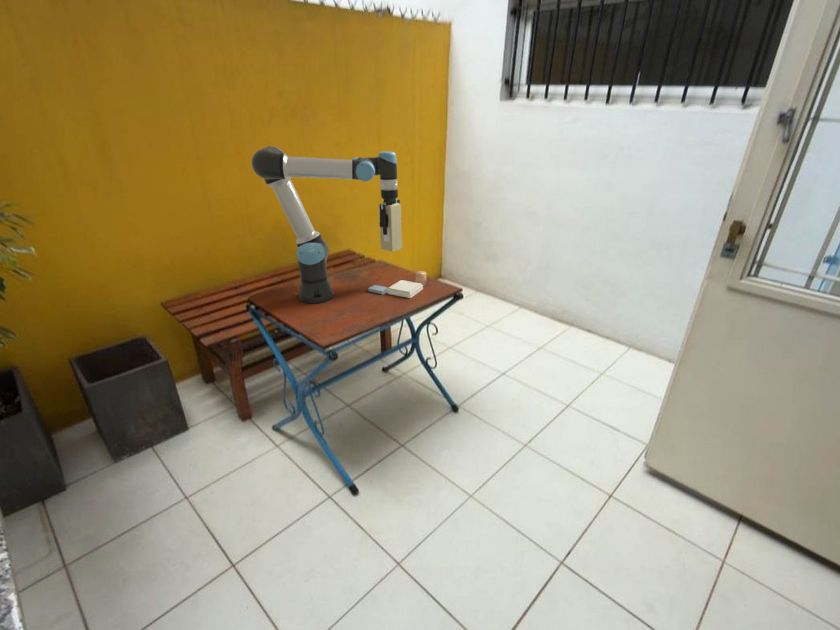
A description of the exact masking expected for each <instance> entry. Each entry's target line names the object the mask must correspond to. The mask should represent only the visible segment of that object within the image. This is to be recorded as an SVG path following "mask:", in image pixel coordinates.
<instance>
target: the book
mask: <svg viewBox="0 0 840 630" xmlns="http://www.w3.org/2000/svg"><path fill="white" fill-rule="evenodd" d="M367 289H368V292H370V293H375V294H379V295H384V294H386V293H387V290H388V289H389V287H387V286H382V285H378V284H373V285H372V286H370V287H368V288H367Z"/></svg>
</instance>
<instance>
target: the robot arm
mask: <svg viewBox="0 0 840 630" xmlns="http://www.w3.org/2000/svg"><path fill="white" fill-rule="evenodd" d="M397 161H398V160H397V154H396V153H395V152H394V151H380V152H379V153H378V156H371V157H369V156H368V157H352V158H351V159H340V158H322V157H319V158H318V157H305V156H304V157H301V156H288V155H287V154H286V153H284V152H283V151H282V150H281V149H280V148H278V147H276V146H266V147H262V148H261V149H259V150H257V151H255V152H254V153H253V155H252V158H251V166H252V167H251V168H252V170H253V171H254V173H255V174H256V175H257V176H258V177H259V178H261V179H263V180H264V182H265V184H266V186H268V187H270V188H272V190H273V192H274V194H275V196H276V198H277V200H278V202H279V204H280V206H281V209H282V210H283V212H284V214H285V217H286V218H287V220H288V222H289V225H290V227H291V228H292V231H293V232H294V235H295V236H296V241H295V244H296V246H297V250H296V257H297V259H296V260H297V262H298V270H299V276H300V277H299V278H300V286H299V287H300V288H299V292H298V296H299V297H298V299H299V300H300V301H301V302H303V303H305V304H319V303H324V302H328V301H329V300H331V299H333V297H334V296H335V295H334V289H333V288H332V286H331V283H330V281H329V278H328V270H327V260H328V256H329V253H330V252H329V245H328V244H327V242H326V241H325V240H324V239H323V237H322V234H321V233H320V232H319V231H316V230H315V228H314V226H313V224H312V222H311V220H310V218H309V216H308V213H307V212H306V209H305V207H304V205H303V202H302V200H301V199H300V196H299V193H298V191H297V189H296V188H295V186H294V184H293V181H292V178H309V179H310V178H312V179H313V178H314V179H334V180H335V179H337V180H338V179H339V180H355V181H356V180H359V181H362V182H369V181H371V180H372V179H373V178H374V176H379V181H380V182H379V183H380V184H379V185H380V187H379V188H380V197H381V199H383V202H382V203H383V204H381V203H379V204H380V219H379V228H380V227H383V237H384V241H387V242H389V241H390V239H389V227H388V215H387V214H386V206H388V205H393V204H396V203H398V204H401V203H400V202H401V201H400V199H397V198H398V197H399V190H398V162H397Z"/></svg>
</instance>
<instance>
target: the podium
mask: <svg viewBox="0 0 840 630" xmlns="http://www.w3.org/2000/svg"><path fill="white" fill-rule="evenodd" d="M388 288H389V289H388V290H387V292H386V293H387V295H390V296H391V295H392V296H396V297H402V298H407V299H412V297H414V296H416V295H418V293H420V292H421V291H423V289H424V286H423V285H422V284H421V283H416V281H415V282H414V281H409V280H403V279H401V280H399V281H397V282H395V283H394V284H392V285H391V286H389V287H388Z"/></svg>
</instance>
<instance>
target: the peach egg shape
mask: <svg viewBox="0 0 840 630" xmlns="http://www.w3.org/2000/svg"><path fill="white" fill-rule="evenodd" d="M415 283H421V284H422V285H423V287H426V286H427V272H426V271H423V270H418V271H416V272H415Z"/></svg>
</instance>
